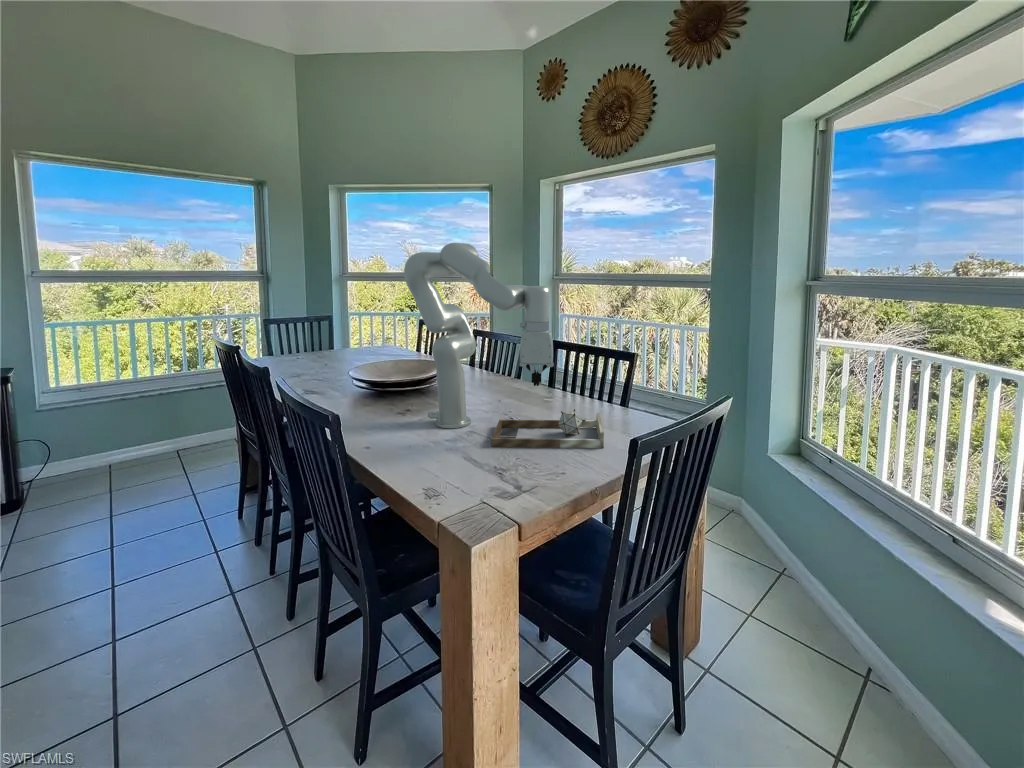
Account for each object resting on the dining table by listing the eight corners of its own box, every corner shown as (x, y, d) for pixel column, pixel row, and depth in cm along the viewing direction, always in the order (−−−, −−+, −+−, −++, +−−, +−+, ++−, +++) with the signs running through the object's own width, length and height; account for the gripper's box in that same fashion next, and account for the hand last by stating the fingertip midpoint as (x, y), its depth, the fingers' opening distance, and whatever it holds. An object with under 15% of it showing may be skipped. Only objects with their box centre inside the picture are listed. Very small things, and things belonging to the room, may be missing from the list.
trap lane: (491, 446, 154) (490, 431, 153) (499, 426, 173) (499, 412, 172) (603, 448, 150) (603, 432, 149) (599, 427, 170) (599, 413, 168)
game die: (575, 446, 163) (585, 428, 156) (550, 437, 163) (559, 418, 156) (580, 426, 169) (590, 408, 162) (556, 417, 169) (565, 398, 162)
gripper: (511, 328, 151) (511, 387, 156) (561, 328, 150) (560, 388, 154) (513, 325, 158) (514, 381, 163) (561, 325, 157) (560, 382, 161)
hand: (536, 384), depth 158 cm, fingers closed
